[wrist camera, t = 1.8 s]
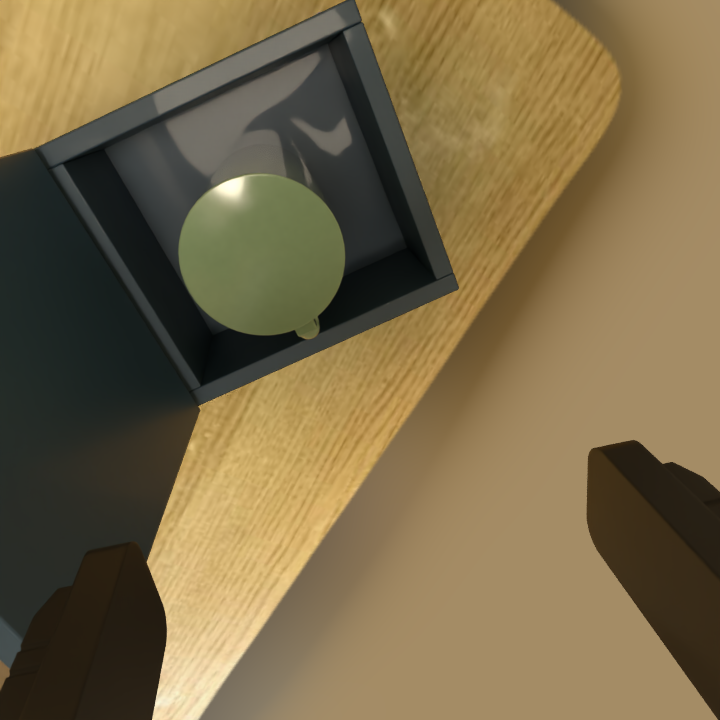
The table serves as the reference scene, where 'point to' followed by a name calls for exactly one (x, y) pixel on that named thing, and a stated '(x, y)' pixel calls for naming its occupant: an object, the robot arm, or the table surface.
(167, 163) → the box
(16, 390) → the lid
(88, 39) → the table surface
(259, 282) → the pale green cylinder
